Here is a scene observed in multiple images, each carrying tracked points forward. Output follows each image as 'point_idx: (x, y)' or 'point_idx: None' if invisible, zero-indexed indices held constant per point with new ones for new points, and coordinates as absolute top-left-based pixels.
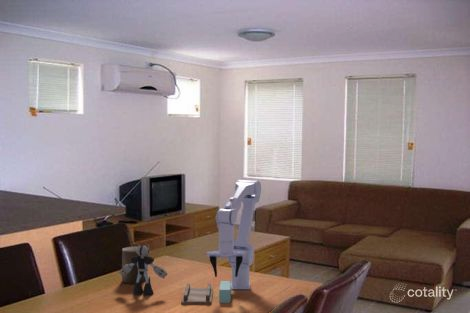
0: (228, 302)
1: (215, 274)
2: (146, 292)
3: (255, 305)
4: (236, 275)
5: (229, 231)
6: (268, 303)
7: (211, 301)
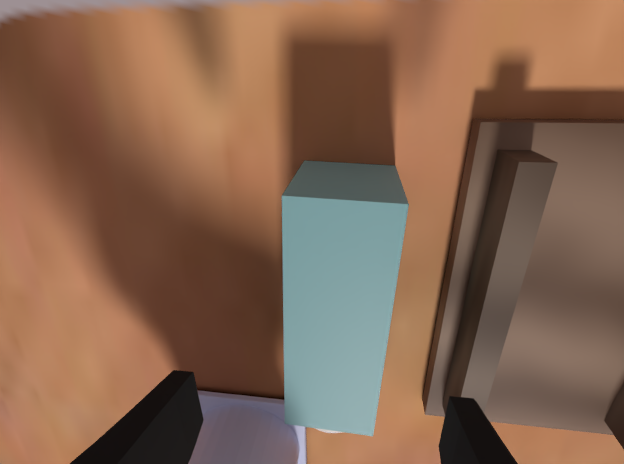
0: (316, 161)
1: (484, 427)
2: None
3: (97, 92)
4: (168, 383)
5: None
6: (17, 140)
7: (464, 178)
